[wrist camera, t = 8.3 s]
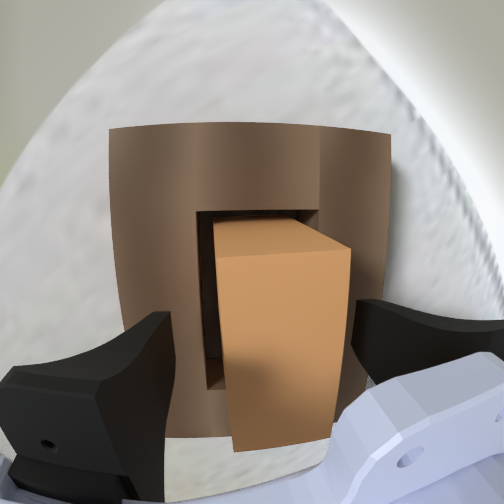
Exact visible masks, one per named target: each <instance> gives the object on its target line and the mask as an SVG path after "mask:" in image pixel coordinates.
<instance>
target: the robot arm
mask: <svg viewBox="0 0 504 504" xmlns="http://www.w3.org/2000/svg"><path fill="white" fill-rule="evenodd" d="M351 346H352V348H353V351H354V353H355V355H356V357H357V358H358V360H359V362H360V364H361V365H362V367H363V368H364V369H365V371H366V372H367V373H368V375H369V376H370V377H371V379H372V380H373V381H374V383H375V384H376V386H374V387H372V388H369V389H367V390H366V391H365V392H363V393H362V394H361V395H360V396H359V397H358V398H357V399H356V400H354V401H353V402H352V403H351V404H350V405H349V406H347V407H346V408H345V409H344V411H343V413H342V414H341V416H340V418H339V420H338V422H337V424H336V425H335V427H334V429H333V431H332V434H331V438H330V442H329V447H328V451H327V453H326V456H325V458H324V460H323V461H322V462H320V463H319V464H317V465H314V466H311V467H309V468H306V469H303V470H301V471H298V472H295V473H292V474H289V475H286V476H283V477H280V478H277V479H274V480H271V481H267V482H264V483H261V484H257V485H253V486H250V487H246V488H242V489H238V490H234V491H230V492H226V493H221V494H217V495H212V496H207V497H202V498H197V499H191V500H185V501H178V502H171V503H165V498H164V448H165V430H166V423H167V417H168V412H169V407H170V402H171V397H172V392H173V387H174V381H175V370H176V354H175V346H174V338H173V330H172V321H171V311H154V312H152V313H150V314H149V315H148V316H146V317H145V318H143V319H142V320H141V321H139V322H138V323H137V324H135V325H134V326H132V327H131V328H130V329H128V330H127V331H125V332H123V333H122V334H120V335H119V336H117V337H116V338H114V339H112V340H111V341H109V342H107V343H105V344H103V345H101V346H99V347H97V348H94V349H92V350H90V351H87V352H84V353H81V354H78V355H76V356H73V357H69V358H66V359H62V360H58V361H53V362H48V363H42V364H34V365H24V366H13V367H12V368H11V369H10V371H9V372H8V373H7V374H6V376H5V377H4V378H3V379H2V381H1V382H0V427H1V429H2V430H3V432H4V434H5V436H6V437H7V439H8V441H9V442H10V444H11V446H12V447H13V449H14V450H15V452H16V454H17V455H16V457H15V459H14V461H13V463H12V462H11V461H10V460H9V459H7V458H6V457H4V456H2V455H0V504H504V320H464V319H455V318H449V317H443V316H437V315H433V314H429V313H425V312H421V311H417V310H413V309H410V308H406V307H403V306H400V305H396V304H393V303H389V302H386V301H382V300H377V299H360V300H356V308H355V316H354V324H353V331H352V338H351Z"/></svg>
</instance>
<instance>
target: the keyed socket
mask: <svg viewBox="0 0 504 504" xmlns="http://www.w3.org/2000/svg"><path fill="white" fill-rule="evenodd" d="M109 190H110V211H111V226H112V239H113V250H114V260H115V269H116V277H117V285H118V293H119V300H120V306H121V313H122V319H123V325H124V330H125V331H127V330H128V329H130V328H131V327H132V326H134V325H135V324H137V323H138V322H139V321H141V320H142V319H143V318H145V317H146V316H148V315H149V314H150V313H152V312H154V311H171V321H172V330H173V338H174V346H175V354H176V370H175V381H174V387H173V392H172V397H171V402H170V407H169V412H168V417H167V423H166V430H165V438H202V437H226V436H232V434H231V426H230V418H229V410H228V401H227V392H226V383H225V374H224V364H223V358H206V347H205V334H204V320H203V305H202V287H201V268H200V244H199V213H198V211H222V210H289V209H299V222H300V223H302V224H304V225H306V226H308V227H310V228H312V229H314V230H316V231H318V232H320V233H322V234H323V235H325V236H327V237H329V238H331V239H333V240H335V241H337V242H339V243H341V244H343V245H344V246H346V247H348V248H350V249H351V262H350V280H349V295H348V308H347V319H346V330H345V340H344V349H343V357H342V366H341V373H340V381H339V388H338V395H337V401H336V407H335V414H334V420H333V423H335V422H338V420H339V418H340V416H341V414H342V413H343V411H344V409H345V408H346V407H347V406H349V405H350V404H351V403H352V402H353V401H354V400H356V399H357V398H358V397H359V396H360V395H361V394H362V393H363V392H364V390H365V386H366V382H367V377H368V373H367V372H366V371H365V369H364V368H363V367H362V365H361V364H360V362H359V360H358V358H357V357H356V355H355V353H354V351H353V348H352V346H351V338H352V331H353V324H354V316H355V308H356V300H360V299H377V300H381V298H382V291H383V283H384V274H385V265H386V255H387V244H388V231H389V216H390V194H391V134H385V133H378V132H371V131H363V130H355V129H346V128H337V127H326V126H315V125H301V124H284V123H257V122H204V123H177V124H160V125H146V126H135V127H124V128H115V129H109Z"/></svg>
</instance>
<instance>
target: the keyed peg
mask: <svg viewBox="0 0 504 504" xmlns="http://www.w3.org/2000/svg"><path fill="white" fill-rule="evenodd" d="M213 231H214V249H215V265H216V280H217V294H218V308H219V320H220V333H221V344H222V355H223V364H224V374H225V383H226V392H227V401H228V410H229V418H230V426H231V434H232V442H233V450H234V452H242V451H252V450H260V449H268V448H275V447H282V446H288V445H294V444H300V443H306V442H311V441H316V440H321V439H325V438H330V436H331V431H332V425H333V420H334V414H335V407H336V401H337V395H338V388H339V381H340V373H341V366H342V357H343V349H344V340H345V330H346V319H347V308H348V295H349V280H350V262H351V249H350V248H348V247H346V246H344V245H343V244H341V243H339V242H337V241H335V240H333V239H331V238H329V237H327V236H325V235H323V234H322V233H320V232H318V231H316V230H314V229H312V228H310V227H308V226H306V225H304V224H302V223H300V222H298V221H296V220H294V219H292V218H290V217H288V216H286V215H284V214H270V215H248V216H229V217H213Z"/></svg>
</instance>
